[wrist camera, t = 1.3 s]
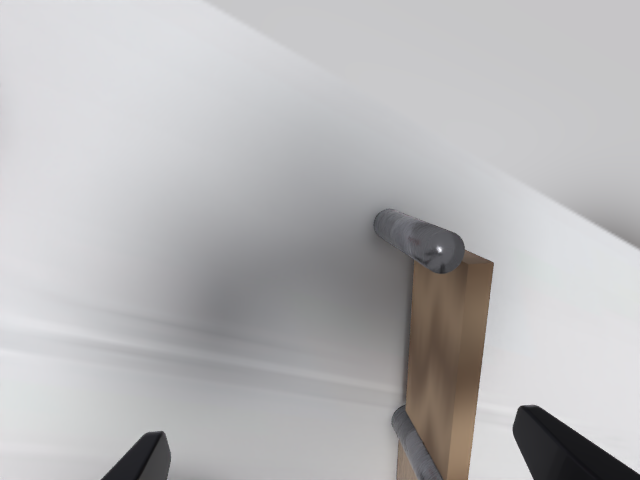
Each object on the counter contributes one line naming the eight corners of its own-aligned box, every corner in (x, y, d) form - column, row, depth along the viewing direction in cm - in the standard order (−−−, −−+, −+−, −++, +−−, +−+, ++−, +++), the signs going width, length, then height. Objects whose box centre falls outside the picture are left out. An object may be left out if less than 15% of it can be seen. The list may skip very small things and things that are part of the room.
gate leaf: (422, 407, 22) (467, 481, 17) (405, 410, 22) (446, 484, 17) (434, 236, 19) (493, 262, 14) (415, 237, 19) (468, 264, 14)
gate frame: (415, 526, 26) (467, 657, 19) (365, 536, 25) (401, 674, 18) (439, 207, 19) (529, 230, 13) (374, 209, 19) (432, 235, 12)
